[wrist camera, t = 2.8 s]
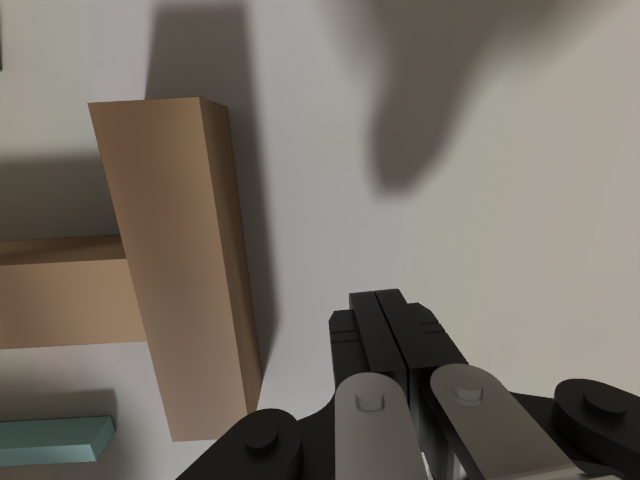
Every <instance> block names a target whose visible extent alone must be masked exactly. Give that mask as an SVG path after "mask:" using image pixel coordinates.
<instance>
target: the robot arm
mask: <svg viewBox="0 0 640 480" xmlns="http://www.w3.org/2000/svg"><path fill="white" fill-rule="evenodd" d="M349 305H350V309H349V310H339V311H334V313H333V314H332V316H331V318H330V320H329V331H330V342H331V352H332V363H333V372H334V381H335V393H334V395H333V397H332V399H331V400H330V402H329V403H328V404H327V405H326V406H325V407H324V408H323V409H321V410H320V411H318V412H317V413H314V414H312V415H310V416H308V417H305V418H303V419H300V420H298V421H297V420H296V419H295V418H294V417H293V416H292V415H291V414H289V413H288V412H286V411H283V410H280V409H272V408H270V409H262V410H258V411H255V412H252V413H250V414H248V415H246V416H245V417H243V418H242V419H240V420H239V421H238V422H237V423H236V424H234V425H233V426H232V427H231V428H230V429H229V430H228V431H227V432H226V433H225V434H224V435H223V436H222V437H220V438H219V439H218V440H217V441H216V442H215V443H214V444H213V445H212V446H211V447H210V448H209V449H208V450H207V451H205V452H204V453H203V454H202V455H201V456H200V457H199V458H198V459H197V460H196V461H195V462H194V463H193V464H192V465H190V466H189V467H188V468H187V469H186V470H185V471H184V472H183V473H182V474H181V475H180V476H179V477H178V478H177V479H175V480H640V397H638V396H636V395H633V394H631V393H628V392H626V391H623V390H621V389H618V388H616V387H613V386H610V385H607V384H605V383H601V382H598V381H593V380H588V379H568V380H565V381H562V382H561V383H559V384H558V385H557V386H556V389H555V393H554V399H553V398H546V397H539V396H532V395H525V394H519V393H514V392H510V391H508V390H507V389H506V388H505V387H504V386H503V385H502V383H501V382H500V381H499V380H498V379H497V378H496V377H494V376H493V375H492V374H490V373H488V372H487V371H485V370H483V369H480V368H478V367H475V366H471V365H469V363H468V362H467V361H466V359H465V358H464V356H463V355H462V354H461V352H460V351H459V349H458V348H457V347H456V345H455V344H454V342H453V341H452V340H451V338H450V337H449V335H448V334H447V333H445V330H444V328H443V327H442V326H441V324H439V321H438V320H437V319H436V317H435V316H434V314H433V313H432V312H431V311H430V310H429V309H427V308H426V307H424V306H422V305H421V304H419V303H409V304H407V302H406V300H405V299H404V297H403V295H402V294H401V292H400V290H399V289H387V290H377V291H374V292H373V291H368V292H358V293H349ZM421 452H424V455H425V457H426V460H427V463H428V465H429V475H428V476H427V472H426V469H425V465H424V461H423V458H422V454H421Z"/></svg>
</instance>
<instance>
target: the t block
mask: <svg viewBox="0 0 640 480" xmlns="http://www.w3.org/2000/svg"><path fill="white" fill-rule="evenodd" d="M88 107H89V111H90V115H91V119H92V123H93V127H94V131H95V135H96V139H97V143H98V147H99V151H100V155H101V159H102V163H103V167H104V171H105V175H106V179H107V183H108V187H109V191H110V195H111V199H112V203H113V207H114V211H115V215H116V219H117V223H118V227H119V231H120V235H105V236H87V237H69V238H51V239H33V240H15V241H0V349H14V348H32V347H50V346H68V345H86V344H104V343H122V342H140V341H147V342H148V346H149V350H150V354H151V358H152V362H153V366H154V370H155V374H156V378H157V382H158V386H159V390H160V394H161V398H162V402H163V406H164V410H165V414H166V418H167V422H168V426H169V430H170V434H171V438H172V442H176V441H194V440H212V439H219V438H220V437H222V436H223V435H224V434H225V433H226V432H227V431H228V430H229V429H230V428H231V427H232V426H233V425H234V424H236V423H237V422H238V421H239V420H240V419H242V418H243V417H245V416H246V415H248V414H250V413H252V412H255V411H256V410H257V405H258V401H259V396H260V391H261V386H262V382H263V381H262V373H261V366H260V358H259V350H258V342H257V335H256V327H255V319H254V311H253V304H252V296H251V288H250V281H249V273H248V265H247V257H246V250H245V242H244V234H243V227H242V219H241V211H240V203H239V196H238V188H237V180H236V172H235V165H234V157H233V149H232V142H231V134H230V126H229V118H228V111H227V107H226V106H223V105H220V104H217V103H215V102H212V101H209V100H206V99H203V98H200V97H188V98H170V99H151V100H133V101H115V102H96V103H88Z"/></svg>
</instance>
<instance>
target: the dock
mask: <svg viewBox="0 0 640 480" xmlns="http://www.w3.org/2000/svg"><path fill="white" fill-rule="evenodd" d="M0 71H1V69H0ZM114 434H115V428H114V425H113V422H112V419H111V416H104V417H86V418H68V419H51V420H33V421H15V422H0V467H2V466H20V465H38V464H56V463H74V462H91V461H97V459H98V458H99V456H100V455H101V453H102V452H103V450H104V449H105V447H106V446H107V444H108V443H109V441H110V440H111V438H112V437H113V435H114Z"/></svg>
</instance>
